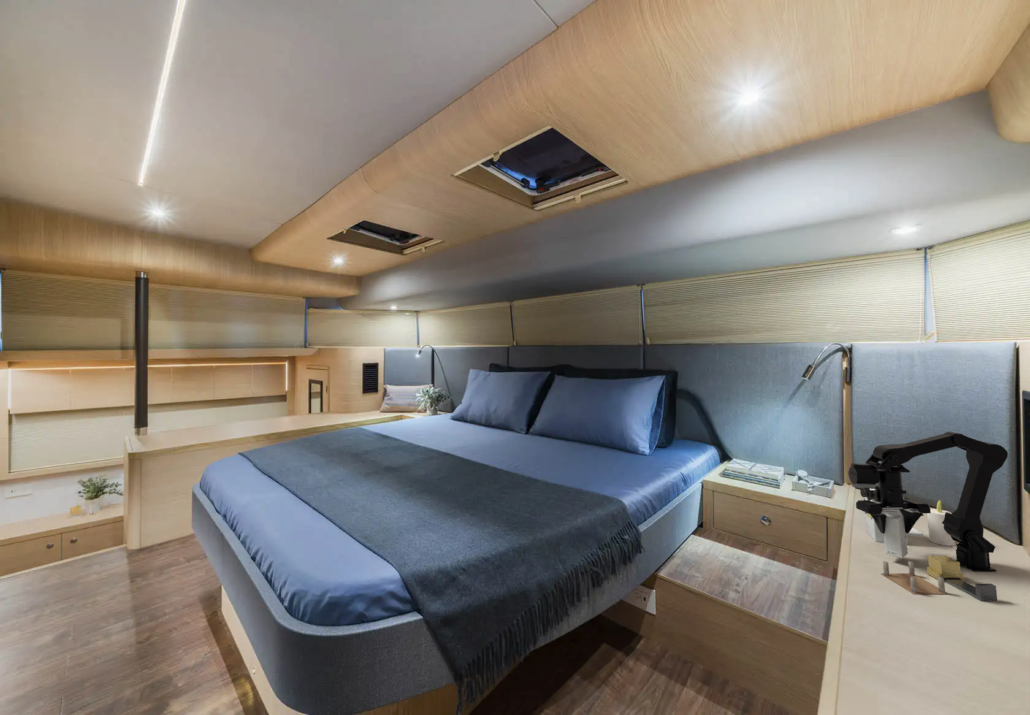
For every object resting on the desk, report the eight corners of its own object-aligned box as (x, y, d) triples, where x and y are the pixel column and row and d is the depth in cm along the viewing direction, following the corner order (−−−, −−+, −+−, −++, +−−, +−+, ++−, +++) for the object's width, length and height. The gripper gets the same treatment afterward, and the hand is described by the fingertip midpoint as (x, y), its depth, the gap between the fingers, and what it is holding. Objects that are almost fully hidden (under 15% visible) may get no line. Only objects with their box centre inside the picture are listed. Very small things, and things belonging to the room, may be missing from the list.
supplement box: (865, 531, 151) (861, 487, 152) (896, 535, 147) (892, 489, 148) (875, 542, 143) (871, 495, 143) (909, 545, 139) (904, 497, 139)
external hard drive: (870, 526, 157) (909, 529, 153) (881, 535, 149) (923, 537, 145) (869, 522, 157) (909, 524, 153) (881, 530, 149) (923, 533, 145)
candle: (942, 537, 143) (938, 496, 144) (960, 545, 137) (956, 501, 138) (923, 537, 144) (919, 496, 145) (940, 545, 138) (937, 502, 138)
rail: (944, 573, 120) (942, 560, 120) (997, 601, 106) (995, 585, 106) (929, 573, 120) (928, 560, 121) (981, 601, 106) (979, 585, 106)
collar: (949, 573, 119) (948, 555, 120) (963, 580, 115) (961, 562, 116) (927, 573, 120) (925, 555, 120) (940, 580, 116) (938, 562, 116)
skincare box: (903, 559, 125) (899, 520, 126) (884, 554, 129) (881, 516, 130) (908, 553, 129) (905, 515, 129) (890, 548, 133) (886, 512, 133)
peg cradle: (912, 574, 121) (911, 560, 121) (948, 594, 110) (947, 579, 110) (881, 574, 121) (880, 560, 122) (913, 594, 111) (912, 579, 111)
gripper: (899, 477, 137) (903, 523, 136) (842, 479, 139) (845, 524, 138) (930, 487, 126) (934, 536, 125) (867, 488, 128) (871, 537, 127)
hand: (894, 533), depth 129 cm, fingers closed on skincare box, 7 cm apart
